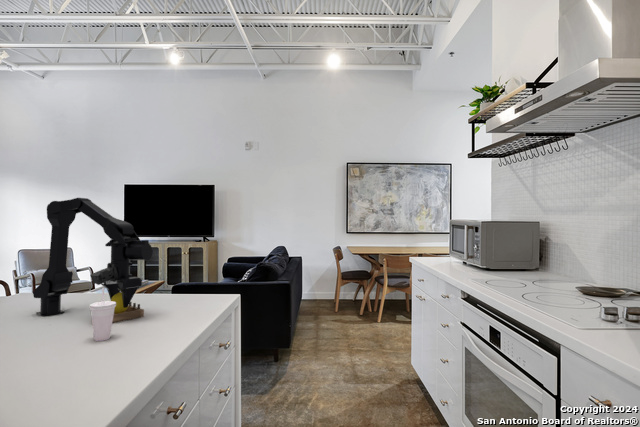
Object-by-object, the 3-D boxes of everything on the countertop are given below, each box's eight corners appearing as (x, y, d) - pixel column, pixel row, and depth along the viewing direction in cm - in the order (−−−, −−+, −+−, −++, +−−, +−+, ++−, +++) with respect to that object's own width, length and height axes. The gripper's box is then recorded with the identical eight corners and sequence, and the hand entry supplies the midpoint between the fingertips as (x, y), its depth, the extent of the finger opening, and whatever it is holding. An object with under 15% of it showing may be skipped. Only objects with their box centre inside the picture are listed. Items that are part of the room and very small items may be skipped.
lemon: (119, 318, 116) (121, 294, 116) (105, 317, 117) (106, 292, 117) (131, 314, 121) (133, 291, 121) (117, 312, 122) (119, 289, 122)
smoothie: (86, 343, 93) (88, 290, 93) (89, 336, 99) (91, 286, 99) (114, 340, 96) (116, 288, 96) (116, 333, 102) (117, 285, 102)
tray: (94, 318, 118) (94, 306, 118) (128, 311, 127) (128, 300, 127) (109, 324, 111) (109, 311, 111) (143, 316, 120) (143, 305, 120)
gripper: (82, 259, 119) (81, 306, 118) (107, 263, 108) (106, 315, 107) (117, 257, 128) (116, 300, 127) (143, 260, 117) (142, 308, 116)
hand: (119, 305), depth 119 cm, fingers open, 8 cm apart
